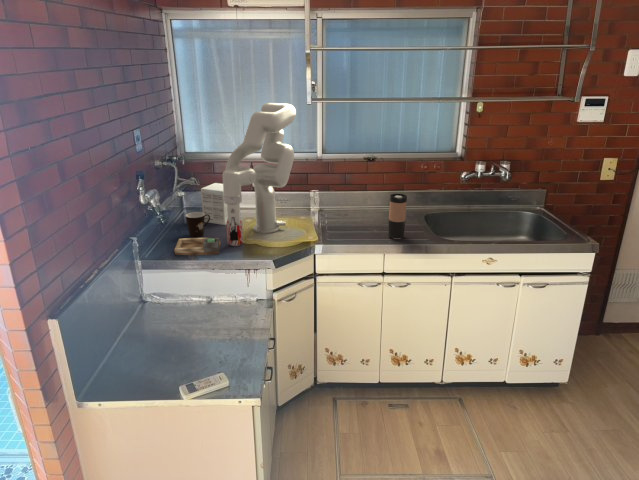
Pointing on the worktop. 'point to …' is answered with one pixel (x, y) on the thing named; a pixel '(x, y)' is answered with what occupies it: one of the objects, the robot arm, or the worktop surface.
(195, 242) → the wooden tray
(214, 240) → the button
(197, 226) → the coffee mug
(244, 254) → the worktop surface
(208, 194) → the supplement box
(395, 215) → the travel mug
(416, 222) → the worktop surface
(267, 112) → the robot arm
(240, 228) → the soda can
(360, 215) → the worktop surface
